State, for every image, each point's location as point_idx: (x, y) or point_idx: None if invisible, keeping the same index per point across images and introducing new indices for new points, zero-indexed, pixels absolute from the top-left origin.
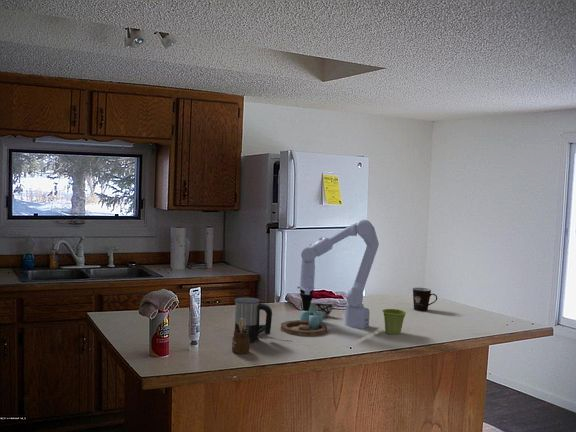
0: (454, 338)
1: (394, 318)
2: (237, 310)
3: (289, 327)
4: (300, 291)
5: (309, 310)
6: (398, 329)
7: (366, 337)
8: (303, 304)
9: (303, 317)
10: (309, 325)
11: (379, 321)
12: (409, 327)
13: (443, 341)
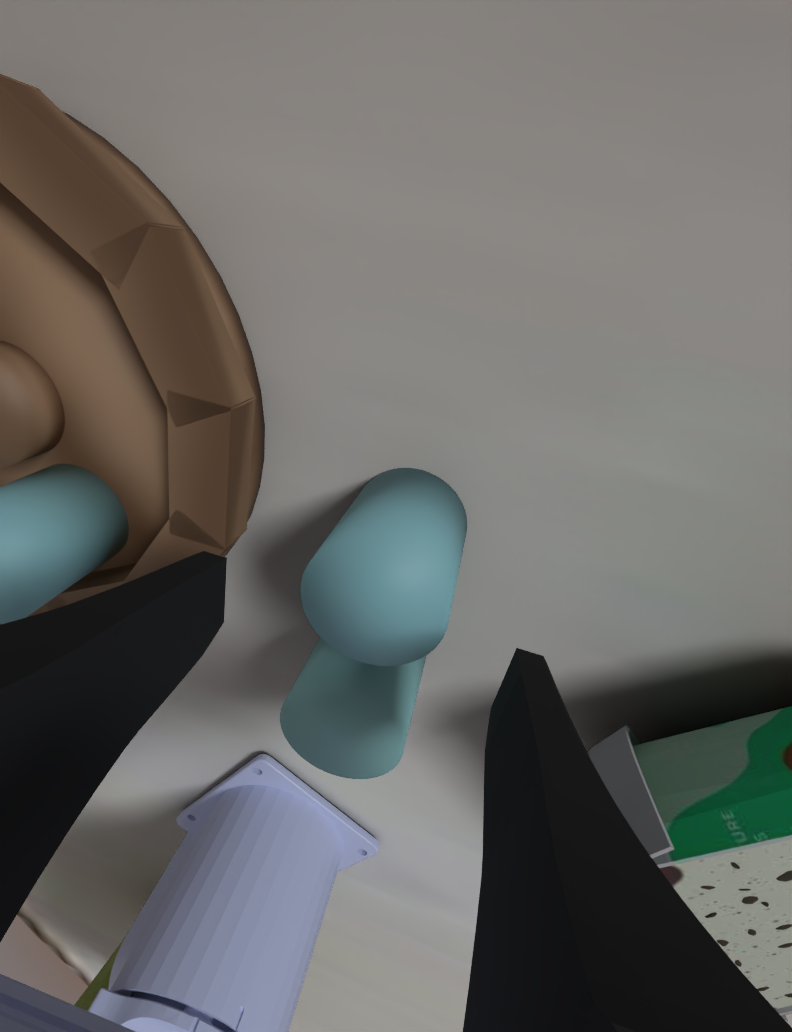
0: None
1: None
2: None
3: (54, 234)
4: (577, 983)
5: (737, 732)
6: None
7: None
8: (101, 605)
9: (338, 523)
10: (19, 479)
11: (458, 1003)
12: (315, 1022)
13: (91, 976)
